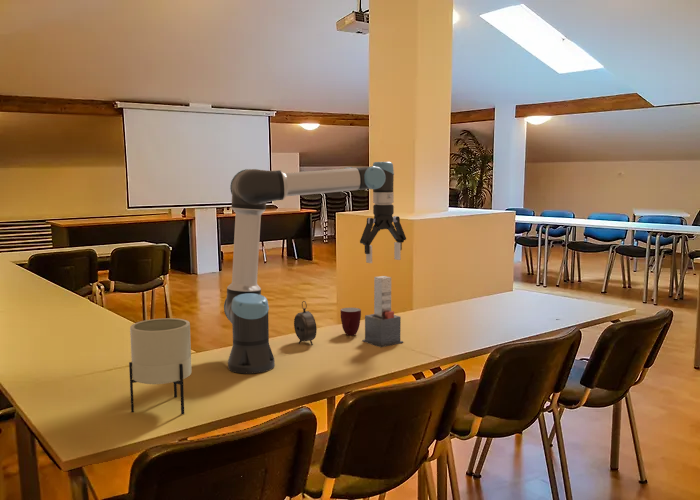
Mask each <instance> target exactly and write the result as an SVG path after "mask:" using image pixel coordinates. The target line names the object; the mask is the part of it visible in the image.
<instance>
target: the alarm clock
mask: <svg viewBox="0 0 700 500" xmlns="http://www.w3.org/2000/svg"><path fill="white" fill-rule="evenodd" d="M304 303H305V308H304V306H303V304H304ZM301 308H302V311H300V312H298V313H296V314H295V317H294V319H293V326H294V327H293V328H294V332H295V335H296V337H297V339H298V340H299V341H298V345H301V342H304V343H305V342H309V343H310V345H311V346H314V344H313V340H314V339H315V338H316V336H317V331H318V330H317V329H318V328H317V323H316V319H315V316H314V315H313V313H312V312H310V311H308V310H306V309H307V302H306V301H304V300H303V301H302V302H301Z"/></svg>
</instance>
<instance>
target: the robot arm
mask: <svg viewBox="0 0 700 500" xmlns="http://www.w3.org/2000/svg"><path fill="white" fill-rule="evenodd" d="M394 175H395V170H394V164H393V163H392V162H391V161H374V162H373V164H372V165H371V166H362V167H361V166H360V167H359V166H357V167H353V166H350V167H344V168H337V169H336V168H334V169H325V170H324V169H322V170H309V171H296V172H283V171H282V170H264V169H257V168H253V169H251V168H248V169H247V168H246V169H242V170H240V171H238V172H237V173H236V174H235V175H234V176H233V177H232V180H231V181H230V188H229V189H230V193H231V209H232V211H234V214H235V221H234V236H233V237H234V239H233V254H232V255H233V258H232V272H231V273H232V274H231V283H230V284H228V286H227V288H226V298H225V301H224V303H223V310H224V311H223V312H224V314H225V316H226V318H227V320H228V321H229V322H230V323H231V324H232V325H231V326H232V348H231V350H230V352H229V356H228V360H227V369H228V370H229V371H230V372H232V373H237V374H245V375H246V374H247V375H248V374H249V375H250V374H259V373H265V372H267V371H270V370H272V369H274V368H275V365H276V364H275V356H274V353H273V352H272V348H271V345H270V339H269V338H270V337H269V336H270V333H269V330H270V329H269V328H270V327H269V310H270V307H269V301H268V299H267V297H266V296H264V295H262V287H261V286H260V285H259V284H258V273H259V272H258V271H259V270H258V269H259V256H260V255H259V254H260V253H259V252H260V236H261V218H262V215H263V213H264V212H265V211H266V209H267V203H269V202H275V201H284V200H285V199H286V198H287V197H292V196H293V197H294V196H304V195H305V196H307V195H314V194H315V195H318V194H328V193H329V194H330V193H339V192H349V191H363V190H372V203H373V205H372V209H373V210H372V214H373V217H367V218H366V224H365V228H364V230H363V232H362V233H361V238H360V239H359V243H360V244H362V245H364V254H365V262H366V263H368V264H373V245H371V244H372V243H373V242H374V239H375V238H376V237H377V235H378V233H379V232H380V231H382V230H388V232H389V233H390V234H391V236H392V237H393V239H394V241H395V242H394V247H393V248H394V255H393V257H394V258H393V259H394V260H397V261H400V260H401V259H402V258H401V255H402V254H401V253H402V250H403V243H404V241H406V240H407V237H406V234H405V231H404V229H403V227H402V225H401V221H400V216H397V215H395V216H394V208H395V207H394V204H393V203H394V178H395V177H394Z"/></svg>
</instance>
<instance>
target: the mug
mask: <svg viewBox="0 0 700 500" xmlns="http://www.w3.org/2000/svg"><path fill="white" fill-rule="evenodd" d="M361 317H362V309H361V308H358V307H344V308H340V321H341V326H342V330H343V332H344V333H345V335H346V336H349V337H350V336H356V334H357V333H358V331H359V329H360V323H361V319H362V318H361Z"/></svg>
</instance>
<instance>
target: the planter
mask: <svg viewBox="0 0 700 500" xmlns="http://www.w3.org/2000/svg"><path fill="white" fill-rule="evenodd" d="M129 332H130V353H131V355H130V357H131V358H130V359H131V362H128V365H129V366H128V367H129V372H128V374H129V393H130V410H131V411H130V412H131V413H134V412H135V407H134V406H135V405H134V404H135V403H134V385H133V384H134V383H140V384H144V385H163V384H164V385H165V384H170V383H171V384H172V383H173V396H174V398H177V397H178V387H177V386H178V385H179V389H180V390H179V391H180V394H179V395H180V415H182V414H183V415H185V395H184V394H185V392H184V391H185V390H184V380H185V379H186V378H188V377H190V375H192V348H191V345H192V344H191V323H190V321H189V320H186V319H183V318H177V317H176V318H174V317H173V318H172V317H171V318H170V317H169V318H168V317H167V318H166V317H165V318H153V319H145V320H140V321H137V322H135V323H133V324H131V325H130V327H129Z"/></svg>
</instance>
